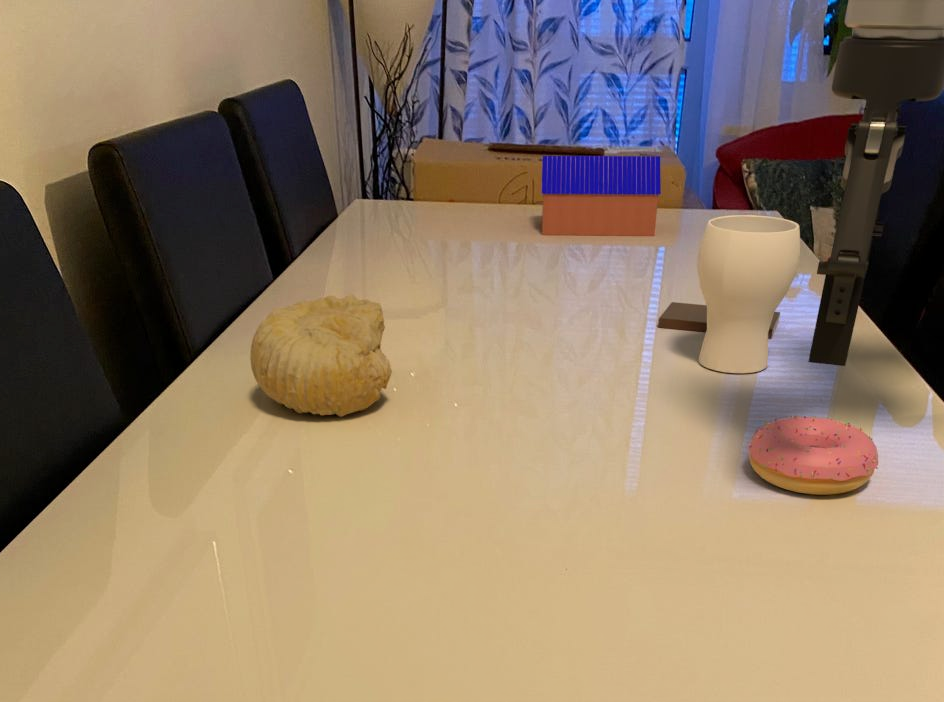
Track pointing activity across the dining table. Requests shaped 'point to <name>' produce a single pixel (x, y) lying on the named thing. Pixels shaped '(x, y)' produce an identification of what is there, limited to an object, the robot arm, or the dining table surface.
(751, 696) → the dining table surface
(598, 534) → the dining table surface
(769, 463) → the doughnut
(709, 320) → the cup
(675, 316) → the walnut coaster board
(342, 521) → the dining table surface
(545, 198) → the house
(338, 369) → the seashell
